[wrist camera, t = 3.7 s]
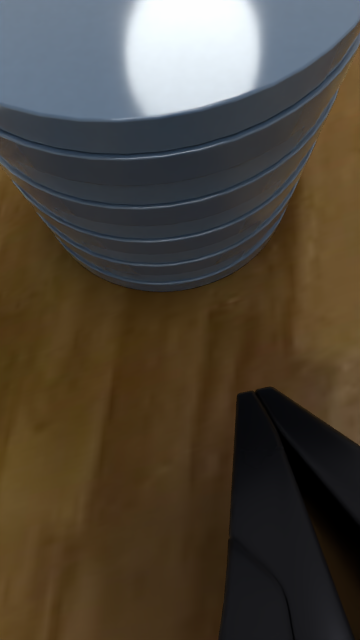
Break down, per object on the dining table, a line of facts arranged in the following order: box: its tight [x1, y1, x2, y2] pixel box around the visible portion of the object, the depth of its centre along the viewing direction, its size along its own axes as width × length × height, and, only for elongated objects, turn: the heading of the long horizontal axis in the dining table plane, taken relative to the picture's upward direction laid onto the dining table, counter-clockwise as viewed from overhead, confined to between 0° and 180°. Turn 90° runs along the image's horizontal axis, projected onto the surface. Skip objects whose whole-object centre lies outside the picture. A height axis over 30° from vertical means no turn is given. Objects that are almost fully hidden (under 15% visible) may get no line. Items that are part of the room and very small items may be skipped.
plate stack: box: [0, 0, 360, 292], centre depth 17 cm, size 17×17×12 cm
